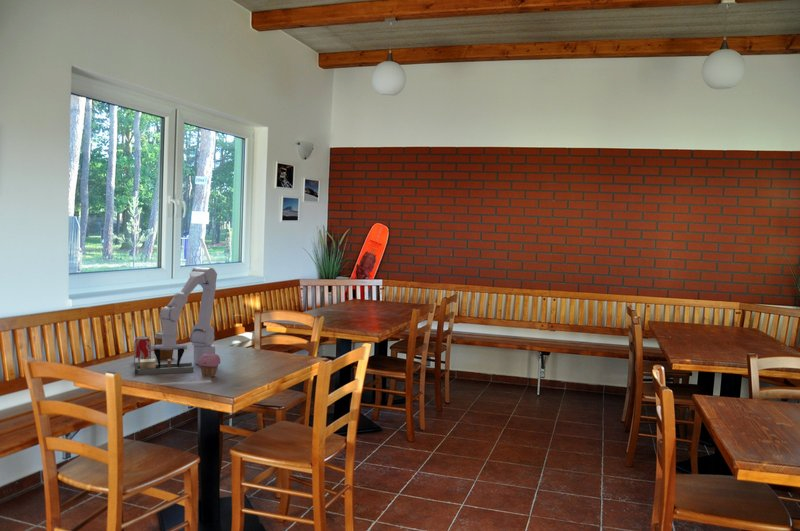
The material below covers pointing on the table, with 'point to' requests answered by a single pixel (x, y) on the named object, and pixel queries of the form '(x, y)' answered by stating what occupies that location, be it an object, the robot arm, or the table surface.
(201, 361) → the cupcake
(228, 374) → the table surface
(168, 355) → the disposable coffee cup
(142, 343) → the soda can
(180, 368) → the lane
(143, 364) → the block
